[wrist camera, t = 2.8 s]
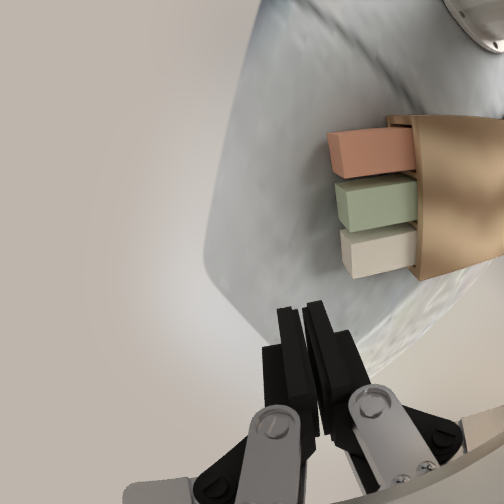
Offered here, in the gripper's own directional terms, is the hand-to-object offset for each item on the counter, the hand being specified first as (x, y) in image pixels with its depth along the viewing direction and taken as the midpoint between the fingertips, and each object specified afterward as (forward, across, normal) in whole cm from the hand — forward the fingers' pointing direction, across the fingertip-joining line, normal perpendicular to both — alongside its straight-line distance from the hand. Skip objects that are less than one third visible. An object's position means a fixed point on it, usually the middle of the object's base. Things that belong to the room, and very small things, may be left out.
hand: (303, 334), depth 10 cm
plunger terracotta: (+15, -10, -5) cm, 19 cm away
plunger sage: (+15, -10, 0) cm, 18 cm away
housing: (+15, -18, 0) cm, 23 cm away
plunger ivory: (+15, -10, +4) cm, 18 cm away
